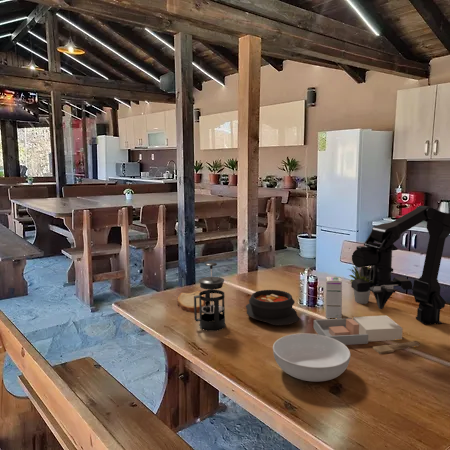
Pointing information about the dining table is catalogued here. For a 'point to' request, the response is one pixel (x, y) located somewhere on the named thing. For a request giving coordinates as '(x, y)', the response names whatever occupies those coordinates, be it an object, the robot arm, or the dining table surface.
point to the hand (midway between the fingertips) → (380, 308)
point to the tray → (323, 329)
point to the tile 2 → (352, 327)
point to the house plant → (360, 296)
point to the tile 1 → (338, 331)
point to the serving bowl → (311, 356)
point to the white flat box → (379, 328)
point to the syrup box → (333, 297)
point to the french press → (209, 310)
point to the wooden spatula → (394, 347)
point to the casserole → (272, 307)
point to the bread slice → (189, 301)
